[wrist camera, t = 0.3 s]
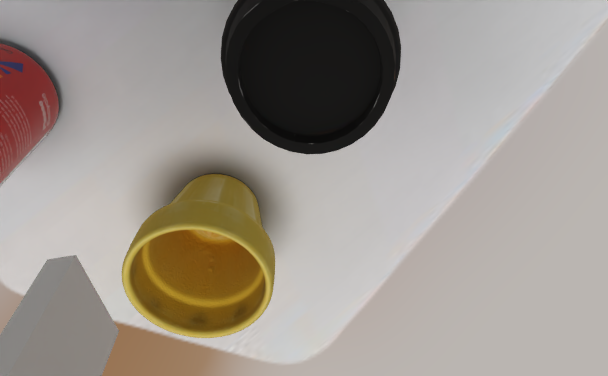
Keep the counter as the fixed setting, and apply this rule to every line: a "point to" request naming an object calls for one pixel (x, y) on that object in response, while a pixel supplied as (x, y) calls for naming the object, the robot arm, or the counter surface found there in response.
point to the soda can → (23, 108)
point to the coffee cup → (311, 69)
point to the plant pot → (202, 261)
